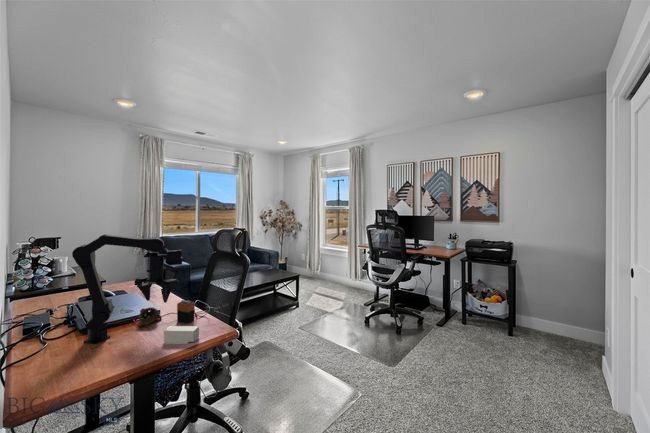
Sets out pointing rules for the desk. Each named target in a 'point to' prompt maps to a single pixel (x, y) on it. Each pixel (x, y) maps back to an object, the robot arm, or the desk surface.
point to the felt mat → (176, 342)
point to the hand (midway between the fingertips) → (156, 301)
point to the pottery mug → (145, 314)
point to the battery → (185, 311)
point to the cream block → (181, 334)
